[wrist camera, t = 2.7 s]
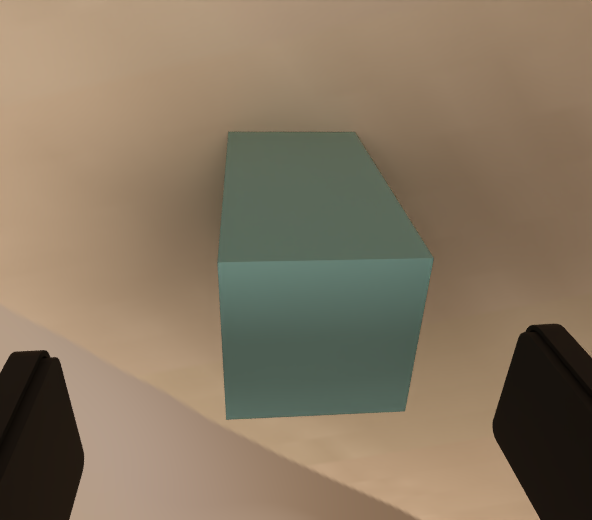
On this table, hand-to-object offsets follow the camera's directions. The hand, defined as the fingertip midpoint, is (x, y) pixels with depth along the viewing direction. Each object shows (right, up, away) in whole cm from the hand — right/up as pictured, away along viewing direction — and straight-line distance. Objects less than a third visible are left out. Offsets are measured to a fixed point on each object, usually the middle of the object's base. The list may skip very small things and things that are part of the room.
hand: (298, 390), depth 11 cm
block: (0, +5, +9) cm, 10 cm away
